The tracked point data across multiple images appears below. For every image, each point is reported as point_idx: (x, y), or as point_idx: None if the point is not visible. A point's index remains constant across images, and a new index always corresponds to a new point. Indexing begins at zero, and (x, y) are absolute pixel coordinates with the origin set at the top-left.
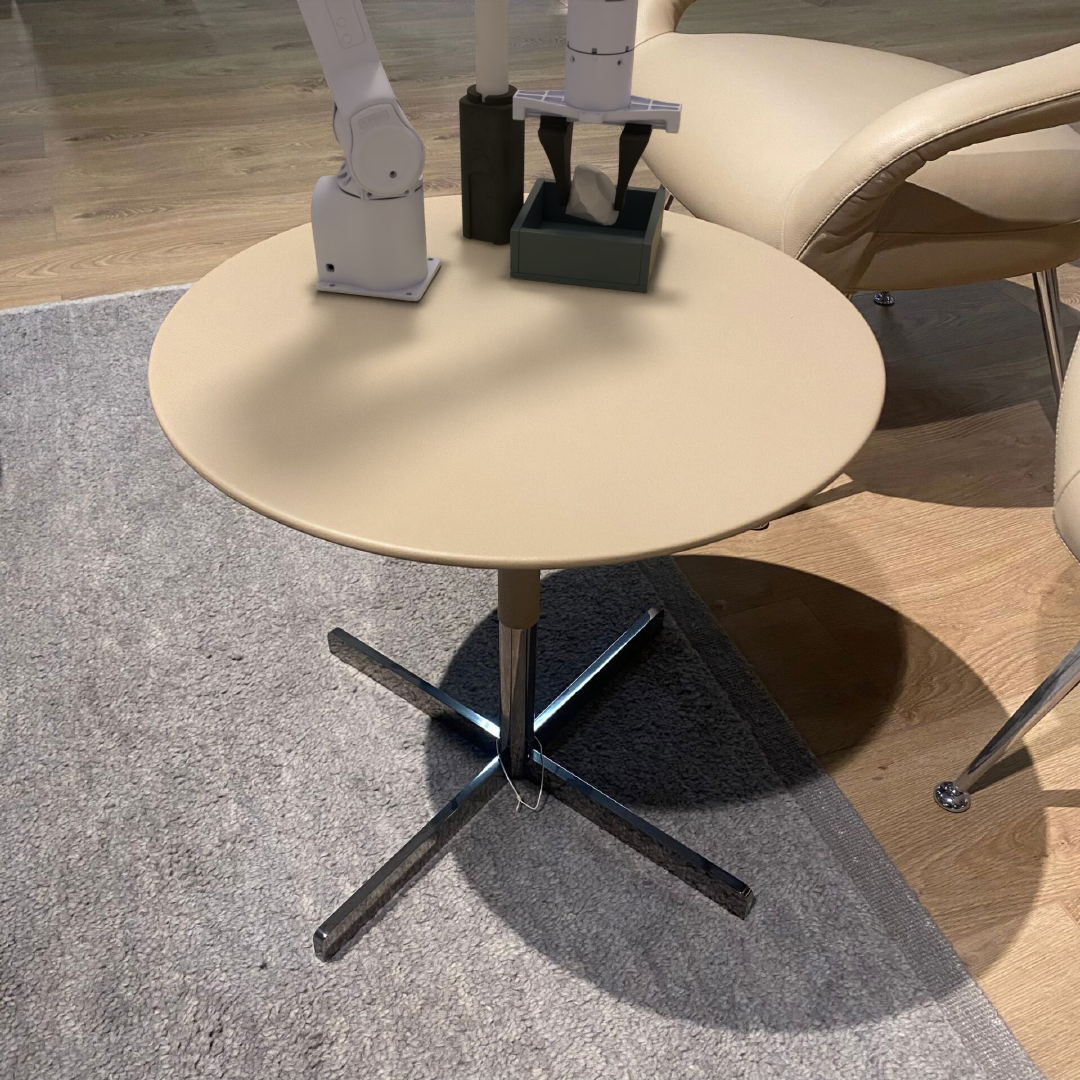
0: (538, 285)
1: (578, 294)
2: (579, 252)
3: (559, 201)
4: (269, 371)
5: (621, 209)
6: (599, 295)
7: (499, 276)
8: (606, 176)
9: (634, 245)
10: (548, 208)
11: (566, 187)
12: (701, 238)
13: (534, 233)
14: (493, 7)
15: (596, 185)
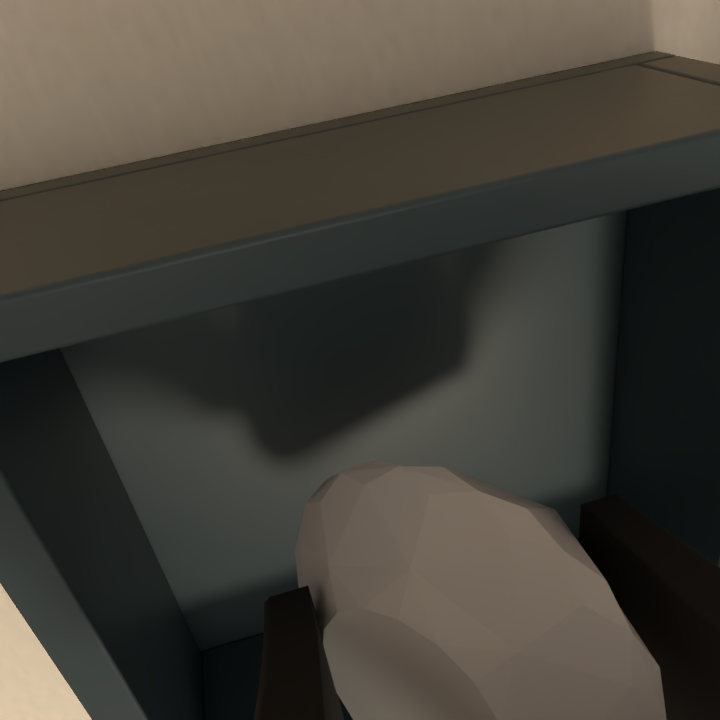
0: (513, 35)
1: (288, 21)
2: (372, 172)
3: (631, 507)
4: None
5: (266, 607)
6: (177, 61)
7: (704, 49)
8: None
9: None
10: None
11: (649, 587)
12: (28, 708)
13: (714, 127)
14: None
15: (471, 674)
